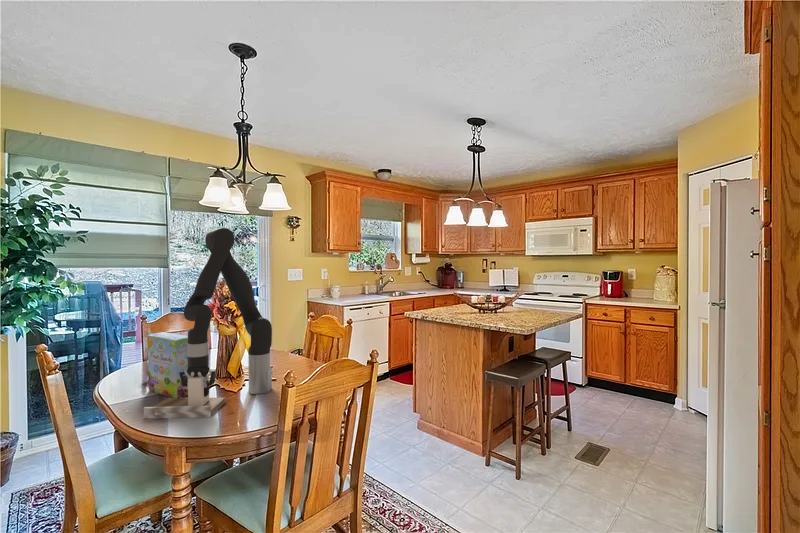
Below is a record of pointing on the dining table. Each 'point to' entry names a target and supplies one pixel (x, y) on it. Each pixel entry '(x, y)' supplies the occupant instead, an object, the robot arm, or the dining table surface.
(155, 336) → the snack box
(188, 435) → the dining table surface
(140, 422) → the dining table surface
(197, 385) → the product box
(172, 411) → the shelf plank
